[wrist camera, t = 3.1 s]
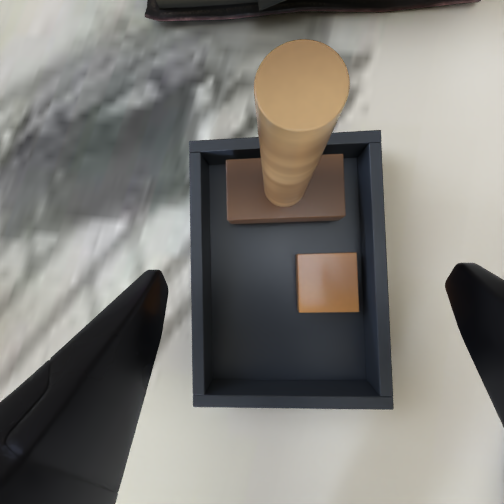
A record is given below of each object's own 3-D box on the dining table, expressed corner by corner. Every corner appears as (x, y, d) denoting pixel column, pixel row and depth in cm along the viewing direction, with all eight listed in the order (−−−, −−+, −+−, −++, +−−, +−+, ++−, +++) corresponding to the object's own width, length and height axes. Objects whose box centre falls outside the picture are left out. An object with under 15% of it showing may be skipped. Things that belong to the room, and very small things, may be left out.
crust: (353, 308, 20) (359, 312, 18) (297, 309, 20) (298, 312, 19) (350, 253, 20) (356, 252, 18) (295, 254, 20) (297, 253, 19)
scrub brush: (335, 223, 20) (450, 149, 7) (233, 226, 21) (167, 163, 8) (333, 169, 20) (441, 1, 7) (232, 174, 21) (166, 25, 8)
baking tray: (375, 388, 20) (394, 410, 17) (204, 386, 21) (192, 407, 18) (365, 149, 21) (381, 129, 18) (200, 157, 22) (188, 140, 19)
